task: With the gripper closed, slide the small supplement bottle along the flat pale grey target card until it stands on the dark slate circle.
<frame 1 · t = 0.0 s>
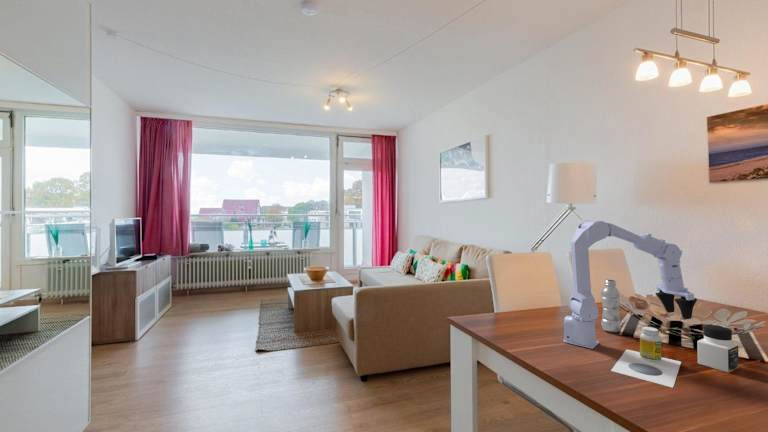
hand: (678, 315, 117), 11 cm above the table, tool pointing down, fingers open, 7 cm apart
target card: (646, 366, 102), on the table
plastic bottle: (611, 331, 132), on the table
medicine bottle: (717, 366, 102), on the table
supplement bottle: (650, 359, 107), on the table, touching target card
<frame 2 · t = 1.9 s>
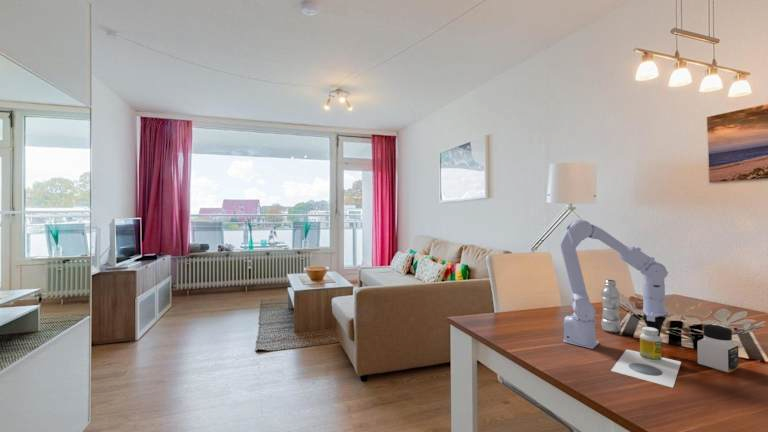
hand: (654, 337, 112), 5 cm above the table, tool pointing down, fingers closed
nothing on the table moved.
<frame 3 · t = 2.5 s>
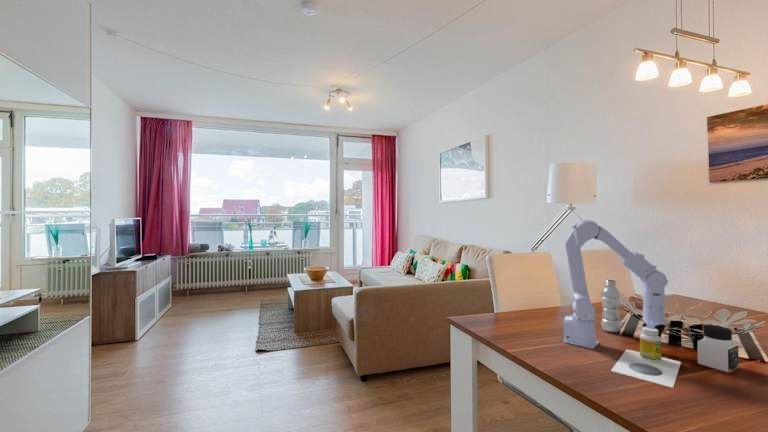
hand: (654, 346, 112), 2 cm above the table, tool pointing down, fingers closed
nothing on the table moved.
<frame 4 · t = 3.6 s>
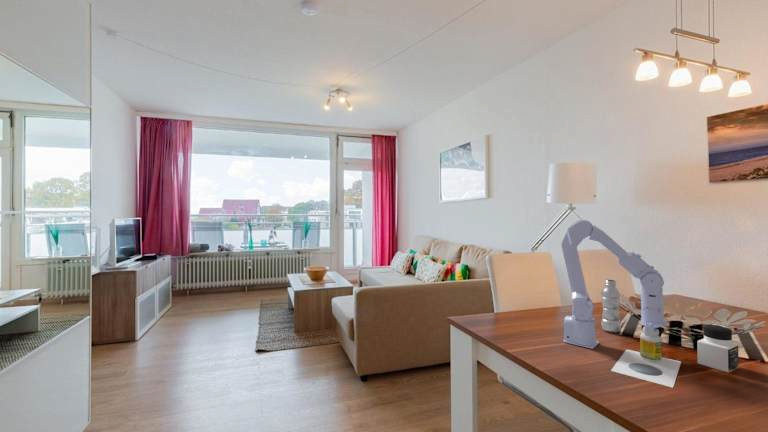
hand: (653, 349, 109), 2 cm above the table, tool pointing down, fingers closed, pressing on supplement bottle
supplement bottle: (650, 358, 107), on the table, touching gripper, target card
everything else where it was.
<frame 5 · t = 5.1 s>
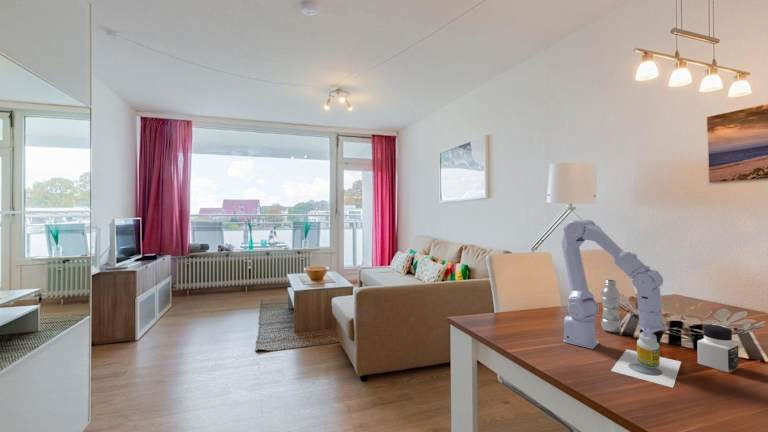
hand: (653, 354, 103), 3 cm above the table, tool pointing down, fingers closed, pressing on supplement bottle
supplement bottle: (648, 363, 102), point 1 cm above the table, touching gripper, target card
everything else where it was.
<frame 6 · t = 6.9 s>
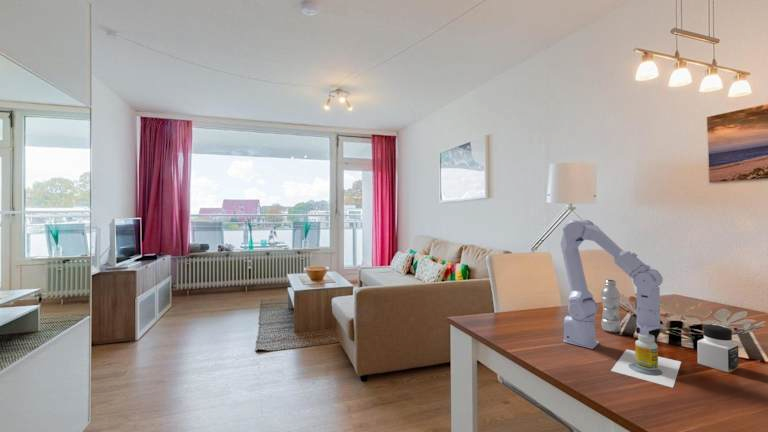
hand: (648, 352, 104), 3 cm above the table, tool pointing down, fingers closed
supplement bottle: (646, 367, 101), resting on target card, touching gripper
everything else where it was.
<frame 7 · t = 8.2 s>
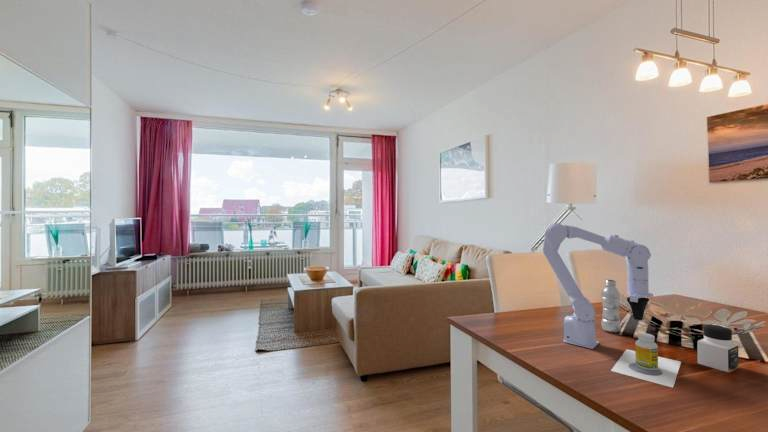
hand: (638, 319, 114), 10 cm above the table, tool pointing down, fingers closed
supplement bottle: (646, 367, 101), resting on target card
everything else where it was.
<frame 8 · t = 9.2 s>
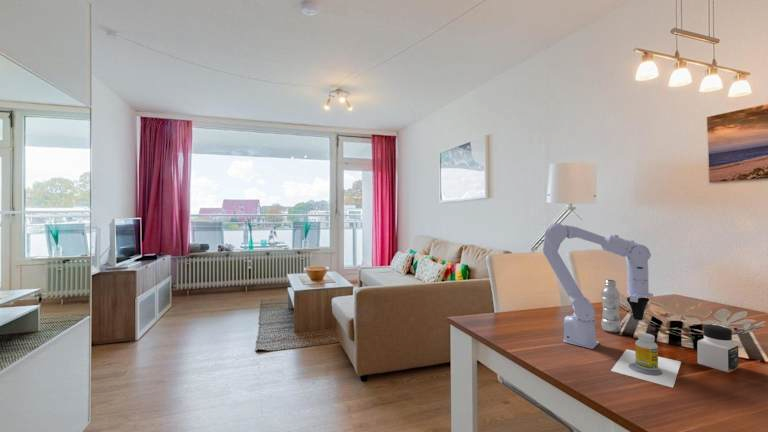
hand: (638, 319, 114), 10 cm above the table, tool pointing down, fingers closed
nothing on the table moved.
at the end: supplement bottle 2.1 cm from the target spot on the target card, point 0.0 cm above the target card's base; supplement bottle tilted 0°; supplement bottle moved 7.9 cm from its start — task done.
